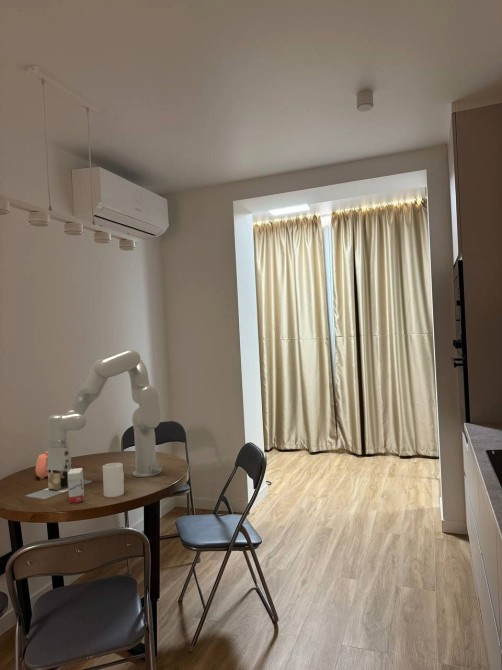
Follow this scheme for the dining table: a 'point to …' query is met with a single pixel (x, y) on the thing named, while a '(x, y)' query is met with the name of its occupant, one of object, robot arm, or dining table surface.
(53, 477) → the block
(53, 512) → the dining table surface
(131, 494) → the dining table surface
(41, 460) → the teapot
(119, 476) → the mug
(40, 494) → the grey board
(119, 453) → the dining table surface
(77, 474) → the ink box
